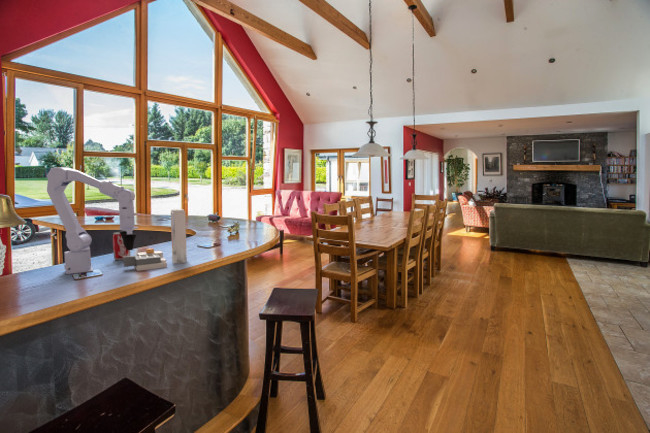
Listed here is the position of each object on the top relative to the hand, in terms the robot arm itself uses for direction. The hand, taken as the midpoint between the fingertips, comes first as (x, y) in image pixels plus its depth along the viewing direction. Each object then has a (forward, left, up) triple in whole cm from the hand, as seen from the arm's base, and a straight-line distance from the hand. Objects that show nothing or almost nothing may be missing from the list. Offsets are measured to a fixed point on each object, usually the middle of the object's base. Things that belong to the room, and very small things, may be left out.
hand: (128, 248), depth 165 cm
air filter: (+21, +2, -9) cm, 24 cm away
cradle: (+8, +2, -9) cm, 13 cm away
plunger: (+9, +6, -7) cm, 14 cm away
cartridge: (+5, 0, -8) cm, 9 cm away
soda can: (-1, +22, -9) cm, 24 cm away
